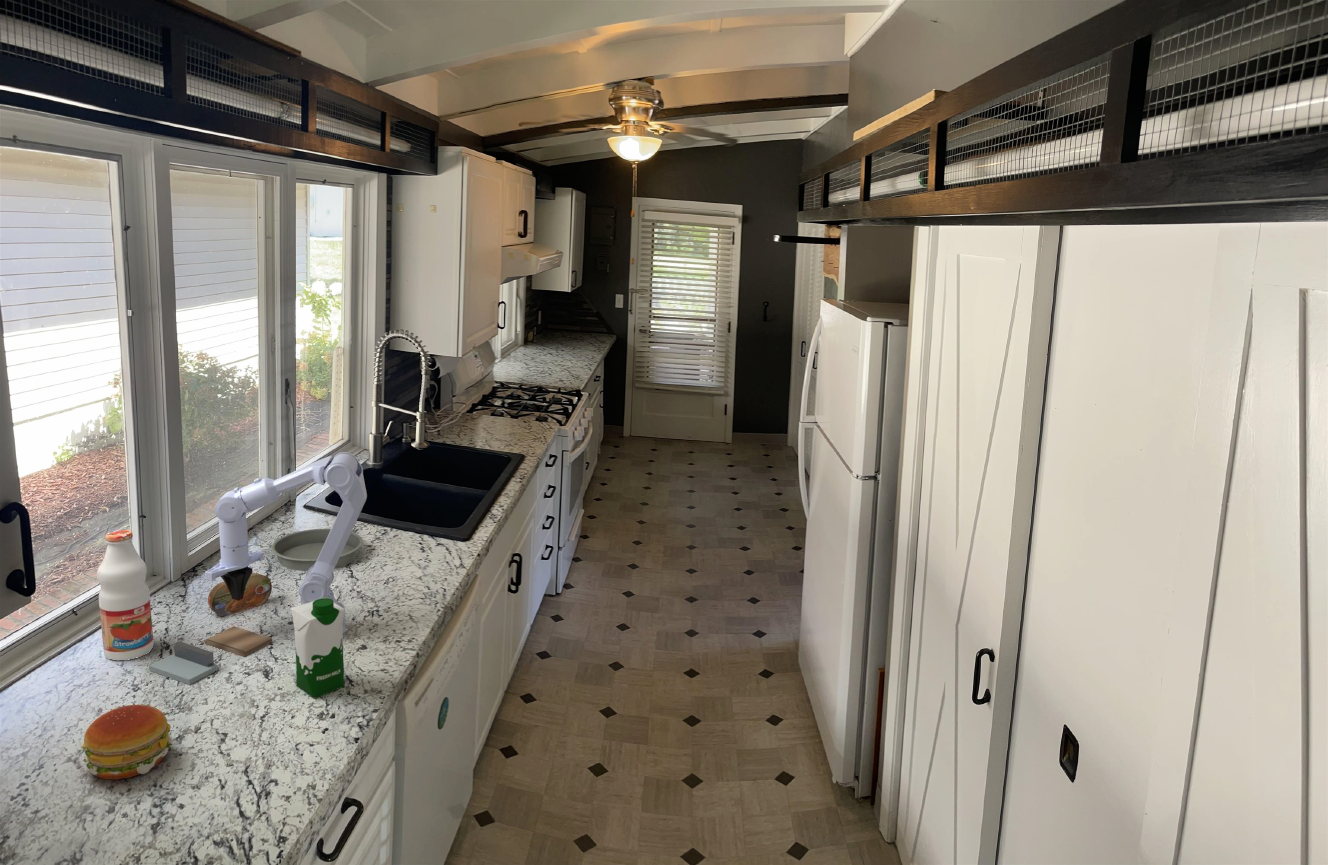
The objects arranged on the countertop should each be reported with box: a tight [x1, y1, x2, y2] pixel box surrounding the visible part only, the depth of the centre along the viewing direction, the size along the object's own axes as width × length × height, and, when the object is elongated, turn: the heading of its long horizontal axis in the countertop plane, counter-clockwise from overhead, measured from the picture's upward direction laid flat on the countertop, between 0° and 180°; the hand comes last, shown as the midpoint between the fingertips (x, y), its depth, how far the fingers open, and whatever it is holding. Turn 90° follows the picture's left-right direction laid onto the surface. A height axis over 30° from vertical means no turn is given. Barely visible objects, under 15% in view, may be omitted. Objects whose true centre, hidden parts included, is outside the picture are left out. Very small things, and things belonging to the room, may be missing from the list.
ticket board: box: [203, 626, 273, 658], centre depth 195 cm, size 12×8×1 cm, turn 68°
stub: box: [148, 641, 219, 686], centre depth 182 cm, size 12×7×4 cm, turn 68°
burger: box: [81, 704, 173, 780], centre depth 151 cm, size 13×14×10 cm
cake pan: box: [271, 528, 364, 572], centre depth 246 cm, size 25×25×4 cm
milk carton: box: [290, 598, 345, 699], centre depth 178 cm, size 9×9×20 cm
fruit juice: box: [96, 529, 154, 660], centre depth 185 cm, size 9×9×28 cm
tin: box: [207, 572, 273, 617], centre depth 211 cm, size 15×3×8 cm, turn 143°
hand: (237, 598), depth 197 cm, fingers closed
